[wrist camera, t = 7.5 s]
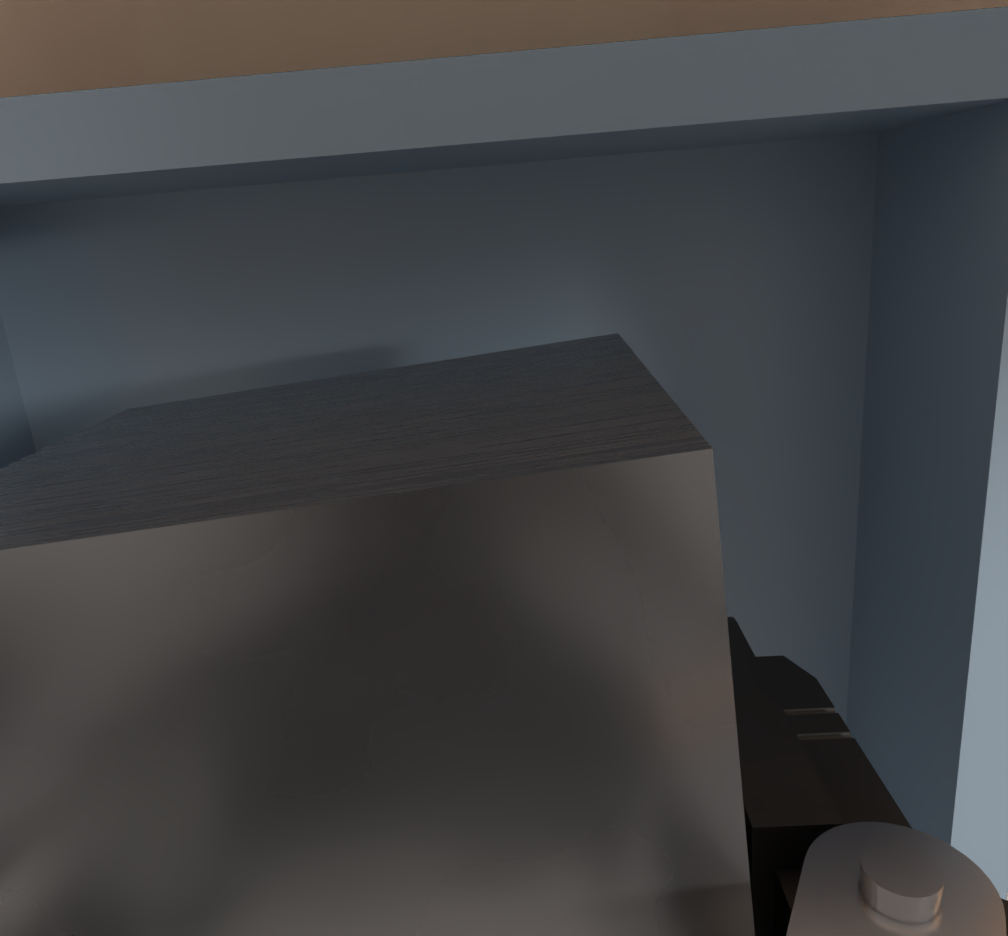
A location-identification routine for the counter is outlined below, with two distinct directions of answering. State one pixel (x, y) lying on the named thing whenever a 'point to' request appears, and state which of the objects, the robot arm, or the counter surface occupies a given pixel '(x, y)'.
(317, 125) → the box
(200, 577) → the iron block
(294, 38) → the counter surface
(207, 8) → the counter surface
